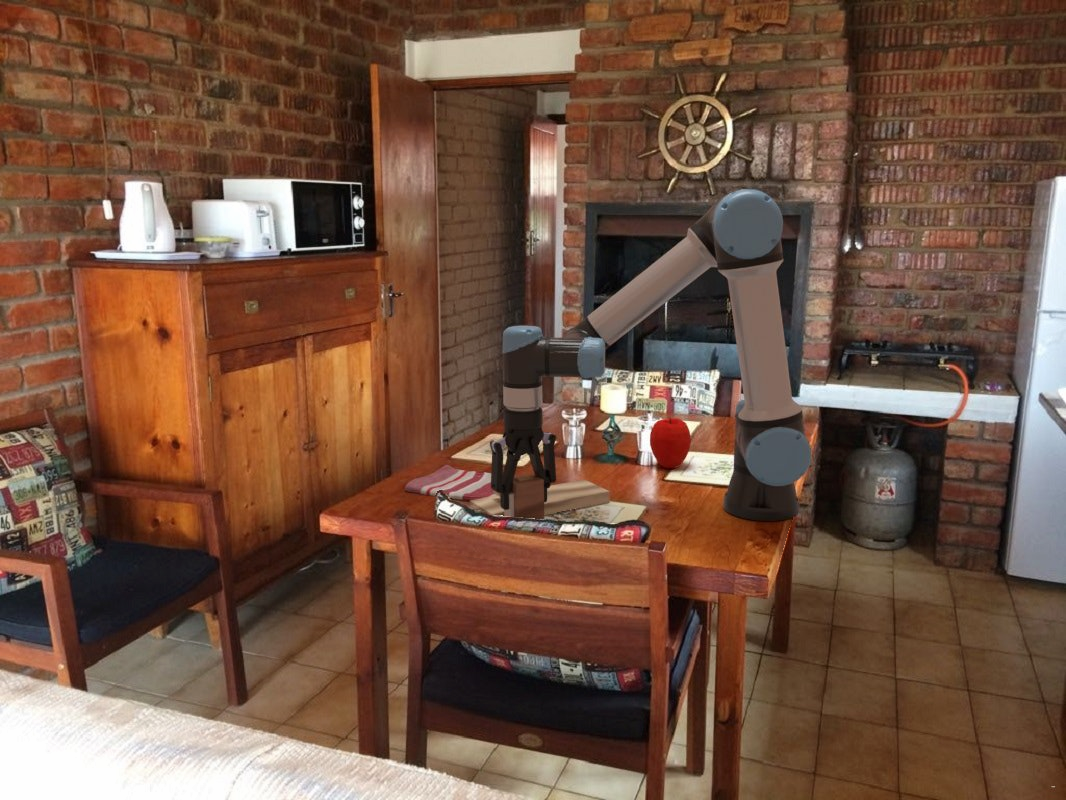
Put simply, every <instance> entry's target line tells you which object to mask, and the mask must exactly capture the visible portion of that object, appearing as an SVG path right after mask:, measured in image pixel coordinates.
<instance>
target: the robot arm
mask: <svg viewBox="0 0 1066 800" xmlns="http://www.w3.org/2000/svg"><path fill="white" fill-rule="evenodd" d="M782 214H783V213H782V211H781V209H780V207H779V206H778V204H777V203H776V202H775V200H774V199H773V198H772V197H771V196H770V195H768V194H767V193H765V192H763V191H761V190H758V189H754V188H753V189H752V188H747V189H746V188H744V189H743V188H742V189H739V190H735V191H731V192H727V193H726V194H723V196H721V197H719V199H718V200H717V201H715V202H714V204H713V205H712V206H711V207H710V208H709V209H708V211H706V213H705V214H703V215H702V216H701V218H699V219H698V220H697V221H696V222H695V223H693V225H691V226H689V228H688V229H687V235H686V237H684V238H682V240H681V241H679V242H678V243H677V244H676V245H675V246H673V247H672V248H671V249H670V250H668V251H666V253H664V254H663V255H662V256H661V257H659V258H658V259H657V260H655V262H654V263H651V265H649V266H648V267H647V268H646V269H644V270H643V271H642V272H641V273H640V274H638V275H637V276H635V278H633V279H632V280H631V281H630V282H628V283H627V284H625V286H623V287H622V288H621V289H620V290H618V291H617V292H616V293H615V294H613V295H612V296H611V297H609V298H608V299H607V300H606V301H605V302H603V303H602V304H600V306H598V307H597V308H596V309H595V310H594V311H592V312H591V313H589V314H588V315H587V317H585V318H584V319H583V320H581V321H580V322H579V323H576V325H574V326H572V327H570V328H569V329H567V330H566V332H564V333H563V335H562V336H561V337H547V336H544V335H543V331H542V328H540V327H539V326H536V325H513V326H509V327H507V328H506V329H505V330H504V331H503V333H502V351H501V355H502V357H501V358H502V360H501V361H502V381H503V382H502V392H503V393H502V396H503V397H502V398H503V400H502V401H503V406H504V409H503V410H502V411H503V427H504V432H503V435H502V438H499V439H497V440H493V439H491V441H490V442H489V447H490V449H491V467H490V468H491V470H490V471H491V472H490V473H491V489H492V490H494V491H496V492H498V493H500V506H501V508H502V509H504V516H511V517H514V494H513V493H511V492H510V491H511V487H512V483H513V479H514V475H516V471H517V467H518V464H519V461H521V456H524V455H526V454H527V455H528V458H529V460H530V463H531V467H532V470H533V475H535V476H537V477H539V478H541V479H543V480H544V502H547V488H550V486H551V484H554V483H556V481H557V471H556V469H557V468H556V457H555V456H556V455H555V454H556V453H555V444H556V439H557V435H556V434H554V433H551V432H548V431H546V432H544V430H543V427H542V426H543V420H544V418H543V408H542V407H541V406H543V377H544V378H551V377H552V378H584V379H589V378H600V377H603V376H604V375H605V373H606V371H605V370H606V367H605V366H606V350H607V349H608V348H609V347H611V346H612V345H613V344H614V343H616V342H617V341H618V340H620V338H622V337H623V336H624V335H626V334H627V333H628V332H630V331H631V330H632V329H633V328H634V327H636V326H637V325H639V324H640V323H641V322H642V321H644V320H645V319H646V318H647V317H649V316H650V315H651V314H652V313H654V312H655V311H656V310H658V309H659V308H661V306H663V305H664V304H665V303H667V302H668V301H670V300H671V299H672V298H673V297H674V296H676V295H677V294H678V293H680V292H681V291H682V290H684V289H685V288H687V286H688V285H690V284H691V283H692V282H694V281H695V280H696V279H697V278H698V277H700V276H701V275H702V274H704V273H705V272H706V271H708V270H709V269H710V268H717V271H718V273H720V274H721V275H722V276H724V277H725V278H726V279H727V283H728V291H729V297H730V305H731V313H732V319H733V325H734V326H733V328H734V336H735V341H736V348H737V349H736V350H737V355H738V363H739V370H740V377H741V378H740V379H741V385H742V392H743V393H742V394H743V399H741V400H739V401H738V402H737V403H736V406H735V413H734V417H735V418H734V420H735V421H734V422H735V424H734V446H733V470H732V471H733V472H732V475H731V476H730V480H729V483H728V486H727V490H726V492H725V493H724V496H723V509H724V510H725V511H726V512H727V513H728V514H730V515H732V516H734V517H735V516H736V517H737V518H741V519H744V520H752V521H760V522H777V521H785V520H790V519H792V518H795V517H796V516H798V514H799V513H800V499H799V497H798V496H797V490H796V486H795V483H796V482H797V481H798V480H800V479H801V478H802V477H803V476H804V475H805V474H806V473H807V472H808V470H809V469H810V467H811V466H810V465H811V462H812V446H811V444H810V441H809V440H808V438H807V436H806V429H805V422H804V421H805V420H804V413H803V408H802V405H800V404H799V403H798V402H796V401H795V400H794V399H793V397H792V394H793V393H792V388H791V380H790V373H789V363H788V355H787V348H786V340H785V339H786V338H785V332H784V324H783V315H782V308H781V300H780V293H779V285H778V277H777V276H778V275H777V272H778V271H777V270H778V269H779V267H780V266H781V264H782V263H783V262H784V254H783V253H784V252H783V246H782V238H781V237H782V235H783V231H784V227H783V226H784V220H783V215H782ZM541 442H542V453H541V451H540V447H539V445H540V444H541ZM505 446H506V447H507V451H506V454H505V455H506V460H505V463H504V451H505ZM541 454H543V455H542V457H543V461H542V458H541Z"/></svg>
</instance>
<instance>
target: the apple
mask: <svg viewBox="0 0 1066 800" xmlns="http://www.w3.org/2000/svg"><path fill="white" fill-rule="evenodd" d="M691 443H692V436H691V431H690V429H689V426H688V424H687V422H686V421H684V420H682V419H681V418H678V417H677V418H676V417H675V418H671V417H669V418H665V419H664V418H663V419H660V420H657V421H656V422H655V423H654V424H653V426H652V428H651V430H650V434H649V446H650V450H651V452H652V455H653V457H654V458H655V460H656V461H657V463H658V464H659V465H660V466H662V467H664V468H665V469H675V468H678V467H680V466H681V465H682V464H683V463H684V462H685V460H686V459H687V456H688V454H689V452H690V448H691Z"/></svg>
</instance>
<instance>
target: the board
mask: <svg viewBox="0 0 1066 800" xmlns="http://www.w3.org/2000/svg"><path fill="white" fill-rule="evenodd" d="M610 493H611V492H610V490H607V489H606V488H604V487H601V486H600V485H598V484H595V483H593V482H590V481H588V480H587V479H579V480H574V481H568V482H564V483H563V482H562V483H557V484H552V485H551V484H550V488H547V502H544V515H545V516H549V515H548V514H550V515H554V514H553V513H555V514H558V513H557V512H560V513H562V512H561V511H564V510H570V509H575V508H580V509H583V508H582V507H585V508H588V507H587V506H590V507H594V506H601V505H605V504H608V503H610V502H611V497H610ZM470 506H471V507H473V508H476V509H478V510H481V511H484V512H487V513H490V514H495V515H503V516H504V509H502V508H501V506H500V497H499V496H498V495H497V496H491V497H486V498H480V499H475V500H470V502H469V507H470ZM575 510H576V509H575ZM570 511H571V510H570Z"/></svg>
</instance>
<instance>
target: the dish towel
mask: <svg viewBox="0 0 1066 800" xmlns="http://www.w3.org/2000/svg"><path fill="white" fill-rule="evenodd" d="M515 476H517V475H516V474H515V475H514V477H515ZM439 490H443V491H445V492H446V493H447V494H448V496H449V497H450V498H452V499H453V500H458V501H459V500H460V501H465V502H469V503H470V500H475V499H480V498H486V497H491V496H497V495H496V494H494V493H493V490H492V489H491V472H486V471H478V470H474V471H473V470H471V471H467V470H461V469H458V468H454V467H452V466H451V465H449V464H445V465H443V466H442V467H440V468H439V469H438V470H436V471H435V472H433V473H430V474H427V475H425V476H420V477H417V478H416V477H415V478H414V479H411V480H410V481H408V482H407V483H406V485H405V487H404V491H405V492H406V491H407V493H413V494H420V495H426V496H431V497H436V496H435V495H436V493H437V491H439ZM450 498H449V499H450ZM452 499H451V500H452Z"/></svg>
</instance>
